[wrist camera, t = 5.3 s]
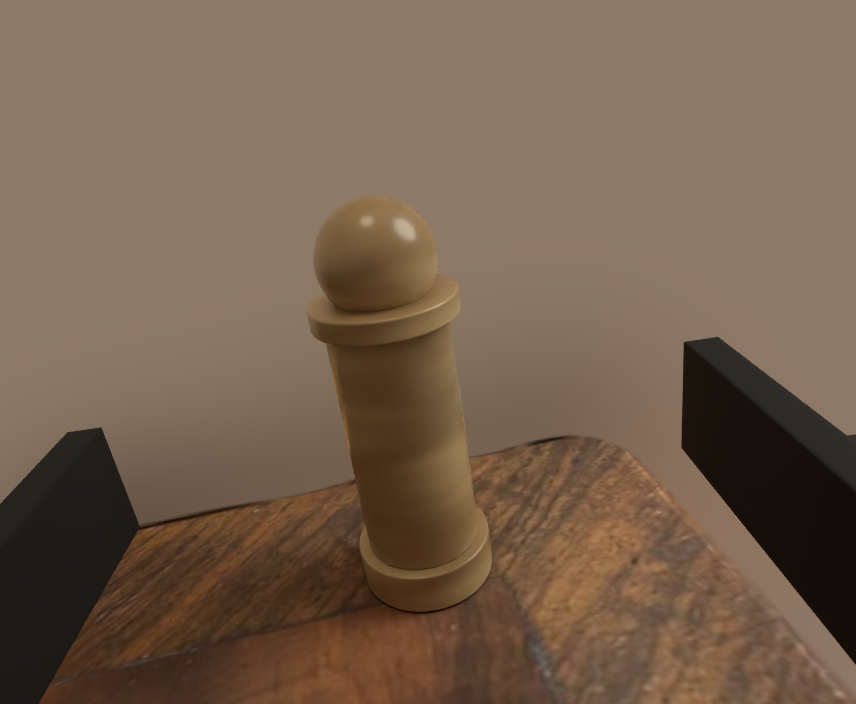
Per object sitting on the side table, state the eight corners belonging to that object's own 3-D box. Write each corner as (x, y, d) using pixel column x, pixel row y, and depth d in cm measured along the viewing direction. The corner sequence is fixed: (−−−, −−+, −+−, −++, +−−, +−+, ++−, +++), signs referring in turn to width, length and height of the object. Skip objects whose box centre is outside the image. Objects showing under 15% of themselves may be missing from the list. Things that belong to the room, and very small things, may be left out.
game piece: (367, 624, 17) (275, 226, 13) (365, 534, 21) (291, 197, 16) (504, 598, 17) (457, 196, 13) (479, 513, 21) (436, 175, 17)
